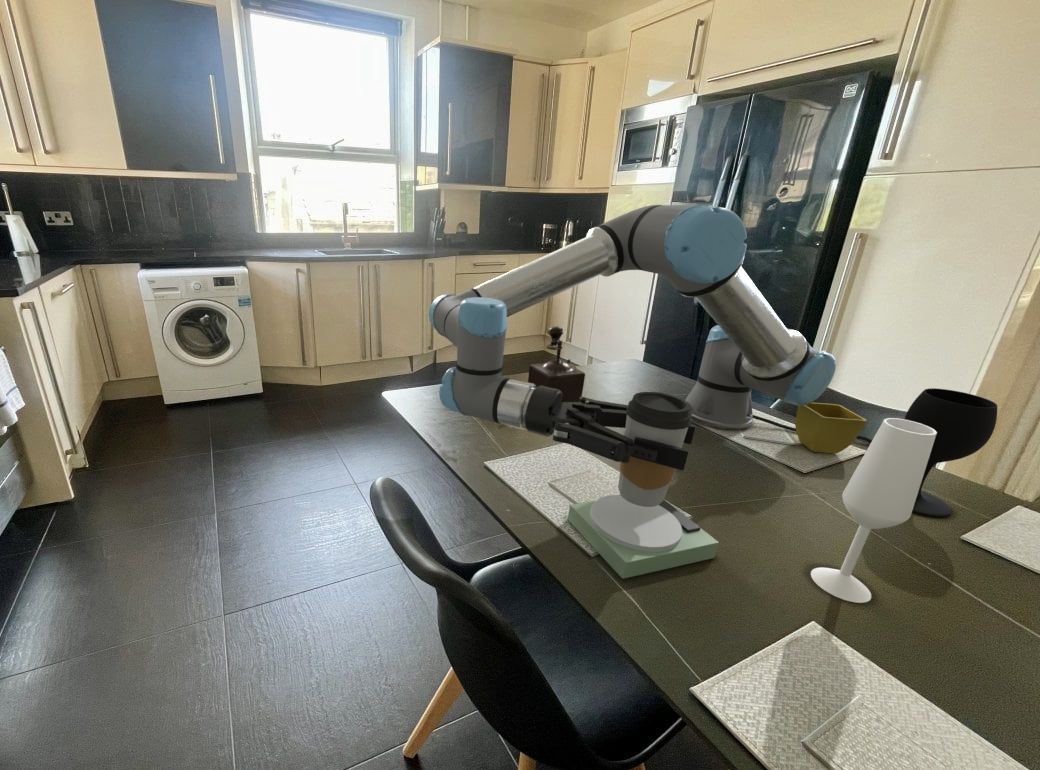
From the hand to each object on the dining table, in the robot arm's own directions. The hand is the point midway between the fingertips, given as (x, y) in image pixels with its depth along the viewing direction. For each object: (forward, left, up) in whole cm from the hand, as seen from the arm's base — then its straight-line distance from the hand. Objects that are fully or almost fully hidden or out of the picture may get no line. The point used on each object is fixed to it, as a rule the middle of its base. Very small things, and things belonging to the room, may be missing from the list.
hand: (689, 446), depth 65 cm
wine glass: (-51, -18, -17) cm, 57 cm away
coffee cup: (+4, -2, -10) cm, 11 cm away
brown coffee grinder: (+7, -60, -17) cm, 63 cm away
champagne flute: (-22, +5, -17) cm, 29 cm away
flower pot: (-48, -38, -17) cm, 64 cm away
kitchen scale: (+3, -3, -17) cm, 18 cm away
